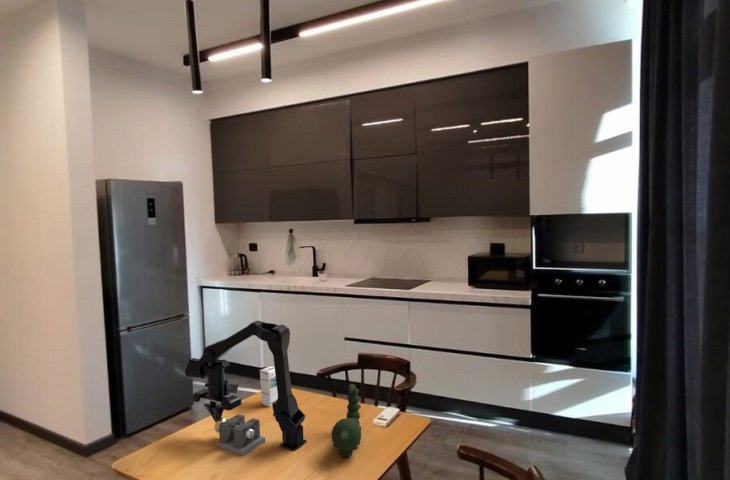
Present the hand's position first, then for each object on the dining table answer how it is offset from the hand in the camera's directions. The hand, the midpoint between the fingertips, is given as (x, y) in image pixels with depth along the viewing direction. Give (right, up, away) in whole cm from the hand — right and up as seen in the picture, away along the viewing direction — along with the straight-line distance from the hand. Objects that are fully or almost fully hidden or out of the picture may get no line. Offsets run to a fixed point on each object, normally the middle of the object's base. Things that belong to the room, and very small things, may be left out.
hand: (217, 423), depth 149 cm
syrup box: (+13, -4, +27) cm, 30 cm away
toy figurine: (+47, -4, -8) cm, 47 cm away
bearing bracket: (+10, -5, -5) cm, 12 cm away
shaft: (+8, -3, -4) cm, 9 cm away
